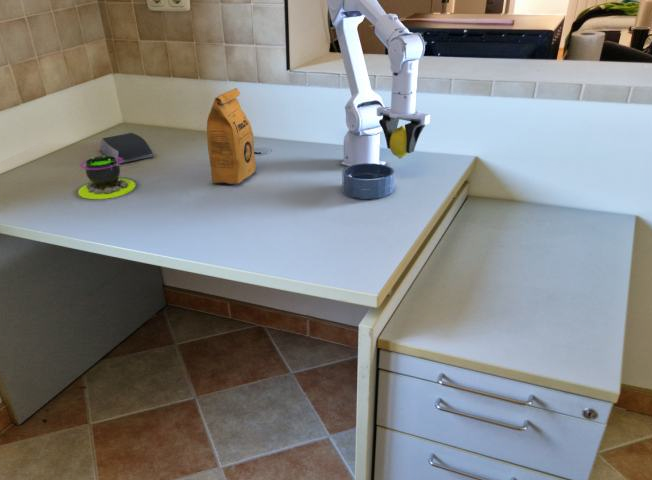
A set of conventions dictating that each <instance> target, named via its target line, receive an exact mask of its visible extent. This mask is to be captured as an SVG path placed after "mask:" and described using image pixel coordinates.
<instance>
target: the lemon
mask: <svg viewBox="0 0 652 480" xmlns="http://www.w3.org/2000/svg"><path fill="white" fill-rule="evenodd" d="M406 146H407V136H406V130H405V125H400V126H399V127H397V129H395V130H394V131H393V133H392V135H391V138H390V152H391V154H392V155H394V156H395V157H397V158H398V160H399V159H402V158H403V157H405V156H407V155H409V153H407V150H406Z"/></svg>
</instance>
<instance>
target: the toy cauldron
mask: <svg viewBox="0 0 652 480" xmlns="http://www.w3.org/2000/svg"><path fill="white" fill-rule="evenodd" d="M103 146H104V145H103ZM105 146H106V145H105ZM101 150H102V149H100V148H97V149H95V148H94V149H92V148H91V151H92V152H95V151H101ZM107 150H108V149H107ZM110 150H111V149H110ZM112 151H113V150H112ZM92 152H91V153H90V154H91V155H93V153H92ZM113 154H114V153H113ZM83 157H84V158H86V160H83V161H81V162H80V163H79V164H78V167H79V168H81V169H83V170H85V173H86V177H87V178H88V180H89V183H87V184H84V185H82V186H81V187H80V188H79V189H78V191H77V194H78V196H79V197H81V198H83V199H87V200H105V199H106V200H107V199H113V198H118V197H121V196H125V195H126V194H129V193H131V192H132V191H133V190H134V189H135V188H136V186H137V185H136V183H135V182H134V180H132V179H129V178H120V175H121V168H123V165H122V163H121V161H122V162H123V159H122V158H121V159H120V158H119V157H118V156H117V157H116V156H115V157H116V158H117V159H119V161H120V160H121V161H120V162H117V161H116V158H115V157H114V156H105V155H100V156H95V157H93V156H92V157H90V158H88V159H87V156H86V154H83ZM84 164H85V166H84Z"/></svg>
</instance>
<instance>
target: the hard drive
mask: <svg viewBox="0 0 652 480" xmlns="http://www.w3.org/2000/svg"><path fill="white" fill-rule="evenodd" d="M103 145H104V146H103ZM105 145H106V146H105ZM99 149H102V150H100V152H101V154H103V156H114V157H115V156H116V157H117V156H118V157H119V158H120V159H121V158H122V159H123V162H122V161H121V160H120V161H121V163H120V164H123V163H129V162H133V161H138V160H143V159H147V158H153V157H155V154H154V152H153V150H152V148H151V147H150V145H149V144H148V143H147V141H146V140H145V139H144V138H143V137H141V136H140V135H139V134H136V133H134V132H129V133H124V134H118V135H113V136H112V135H111V136H107V137H101V139H100V143H99ZM107 149H108V150H107ZM110 149H111V150H110ZM112 150H113V151H112ZM113 153H114V154H113ZM116 157H115V158H116ZM116 161H117V162H120V161H119V159H117V158H116Z"/></svg>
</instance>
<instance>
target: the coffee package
mask: <svg viewBox="0 0 652 480" xmlns="http://www.w3.org/2000/svg"><path fill="white" fill-rule="evenodd" d="M240 95H241V92H240V90H239V89H238V88H237V87H235V88H233V89H230V90H228V91H225V92H223V93H220V94H218V96H216V97H214V100H213V103H212V104H211V105H212V106H211V107H210V111H209V113H208V117H207V121H206V140H207V141H206V142H207V152H208V158H209V165H210V166H209V167H210V173H211V179H212V180H211V181H212V184H229V185H235V184H237V185H238V184H240V183H241V182H243V181H244V180H246V179H248V178H249V177H250V176H252V175H253V174H254V173H255V172H256V169H257V165H256V155H255V143H254V142H255V141H254V132H253V128H252V125H251V122H250V121H249V119H248V117H247V115H246V114H245V112H244V111H243V110H242V107H241V104H240V102H239V100H238V99H237V97H239V96H240Z"/></svg>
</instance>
